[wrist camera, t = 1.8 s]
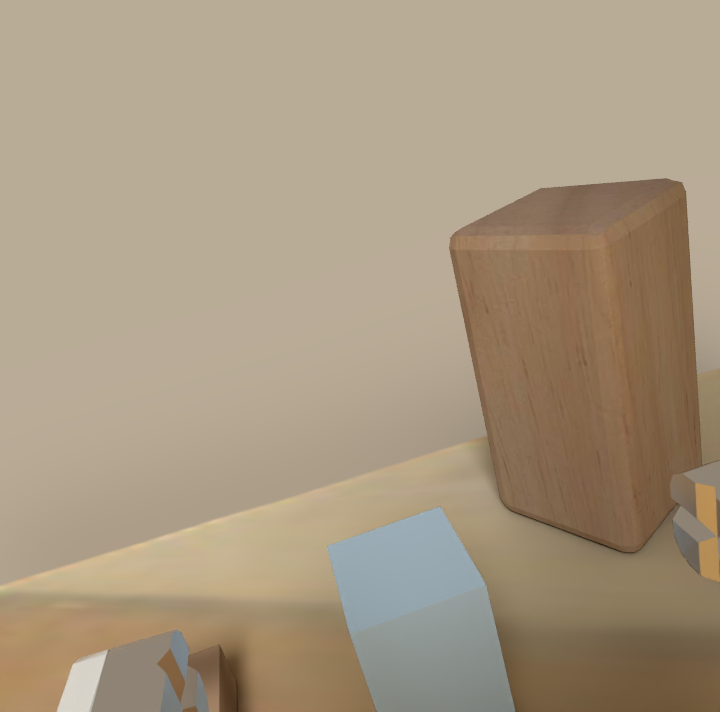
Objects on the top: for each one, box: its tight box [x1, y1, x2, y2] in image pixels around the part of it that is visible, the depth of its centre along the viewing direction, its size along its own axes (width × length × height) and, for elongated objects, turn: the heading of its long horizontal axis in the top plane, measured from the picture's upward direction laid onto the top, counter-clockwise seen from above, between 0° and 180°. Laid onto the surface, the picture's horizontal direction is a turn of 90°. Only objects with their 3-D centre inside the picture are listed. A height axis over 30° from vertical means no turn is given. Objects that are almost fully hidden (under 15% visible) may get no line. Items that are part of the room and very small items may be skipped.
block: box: [449, 179, 702, 552], centre depth 40 cm, size 10×10×20 cm
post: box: [327, 507, 515, 712], centre depth 26 cm, size 5×5×12 cm
